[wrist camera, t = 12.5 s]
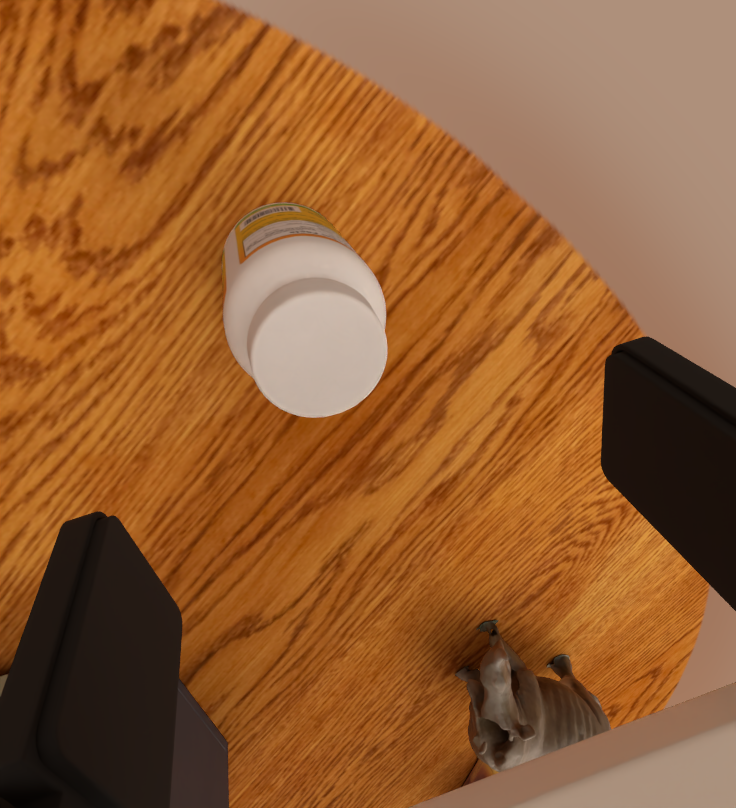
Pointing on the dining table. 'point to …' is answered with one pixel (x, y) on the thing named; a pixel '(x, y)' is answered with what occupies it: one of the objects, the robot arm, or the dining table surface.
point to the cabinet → (198, 758)
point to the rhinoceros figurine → (525, 707)
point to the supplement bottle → (302, 311)
